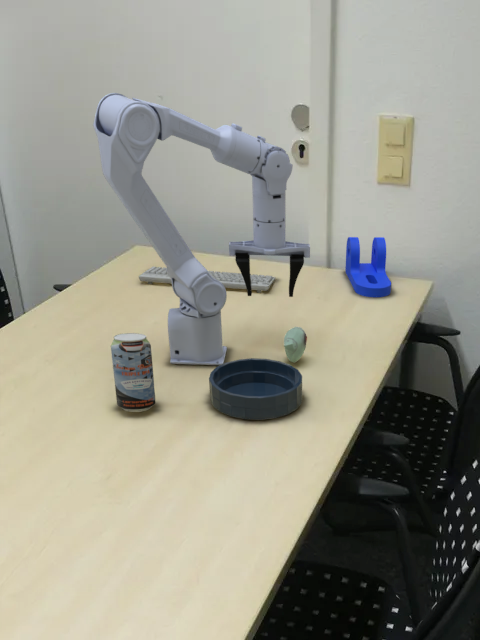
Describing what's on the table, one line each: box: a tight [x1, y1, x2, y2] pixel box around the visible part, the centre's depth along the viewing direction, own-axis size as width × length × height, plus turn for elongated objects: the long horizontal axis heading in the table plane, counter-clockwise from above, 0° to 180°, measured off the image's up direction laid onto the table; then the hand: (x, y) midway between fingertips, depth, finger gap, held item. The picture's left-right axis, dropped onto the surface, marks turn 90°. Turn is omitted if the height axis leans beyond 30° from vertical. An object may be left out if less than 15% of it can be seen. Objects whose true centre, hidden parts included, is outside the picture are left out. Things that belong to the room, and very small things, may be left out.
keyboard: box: [138, 266, 276, 294], centre depth 177 cm, size 29×10×2 cm, turn 86°
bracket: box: [344, 236, 392, 298], centre depth 179 cm, size 18×8×9 cm, turn 10°
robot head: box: [283, 326, 308, 364], centre depth 142 cm, size 8×4×7 cm, turn 173°
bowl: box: [208, 357, 303, 421], centre depth 130 cm, size 15×15×4 cm
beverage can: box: [110, 332, 157, 413], centre depth 123 cm, size 6×7×12 cm
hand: (270, 294), depth 145 cm, fingers open, 7 cm apart
